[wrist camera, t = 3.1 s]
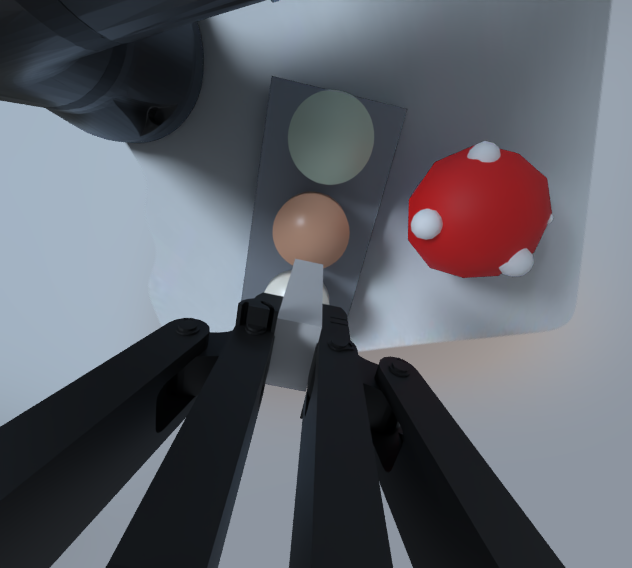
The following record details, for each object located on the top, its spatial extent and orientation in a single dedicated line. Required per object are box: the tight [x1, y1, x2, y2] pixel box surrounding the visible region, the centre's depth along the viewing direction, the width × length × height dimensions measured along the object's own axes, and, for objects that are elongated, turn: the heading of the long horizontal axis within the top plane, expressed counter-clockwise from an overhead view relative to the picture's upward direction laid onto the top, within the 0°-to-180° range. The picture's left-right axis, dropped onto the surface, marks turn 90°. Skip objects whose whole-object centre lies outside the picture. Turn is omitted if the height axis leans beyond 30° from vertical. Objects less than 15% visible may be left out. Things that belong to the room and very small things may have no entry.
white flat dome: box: [264, 270, 329, 305], centre depth 30 cm, size 7×7×2 cm
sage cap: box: [288, 90, 374, 185], centre depth 25 cm, size 7×7×2 cm
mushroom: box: [408, 141, 554, 278], centre depth 26 cm, size 11×11×12 cm
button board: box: [241, 76, 407, 318], centre depth 32 cm, size 12×23×3 cm, turn 168°
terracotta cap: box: [273, 191, 350, 268], centre depth 28 cm, size 7×7×2 cm
